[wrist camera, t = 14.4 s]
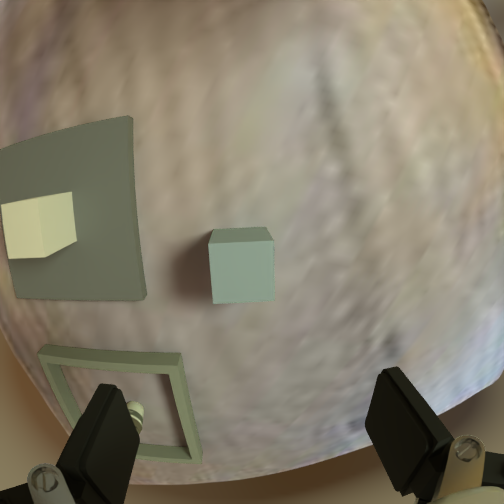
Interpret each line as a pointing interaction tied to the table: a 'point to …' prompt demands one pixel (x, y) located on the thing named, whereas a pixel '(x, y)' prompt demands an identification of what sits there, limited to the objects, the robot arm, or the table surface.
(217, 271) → the slate block
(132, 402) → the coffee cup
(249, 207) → the table surface
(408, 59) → the table surface
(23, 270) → the baseplate
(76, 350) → the cup coaster rim
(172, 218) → the table surface
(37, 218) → the cream block
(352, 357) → the table surface
